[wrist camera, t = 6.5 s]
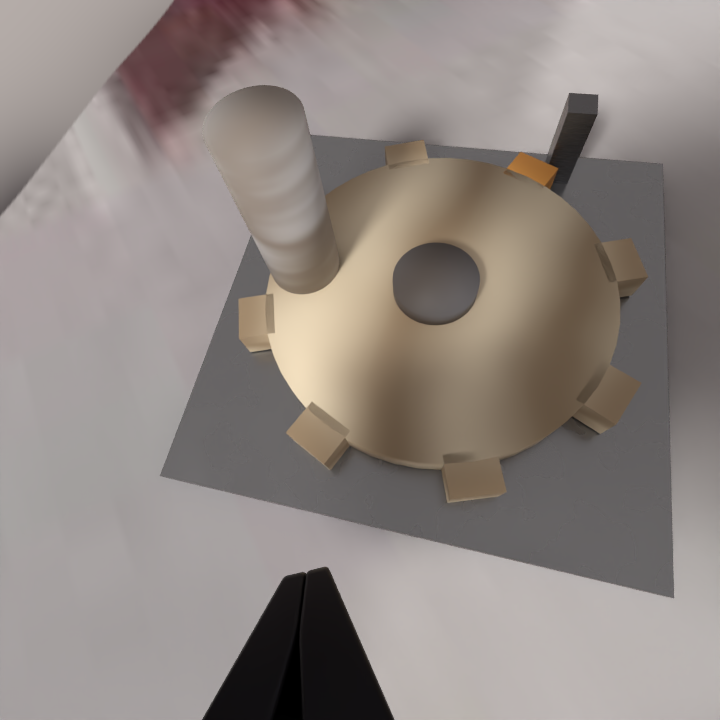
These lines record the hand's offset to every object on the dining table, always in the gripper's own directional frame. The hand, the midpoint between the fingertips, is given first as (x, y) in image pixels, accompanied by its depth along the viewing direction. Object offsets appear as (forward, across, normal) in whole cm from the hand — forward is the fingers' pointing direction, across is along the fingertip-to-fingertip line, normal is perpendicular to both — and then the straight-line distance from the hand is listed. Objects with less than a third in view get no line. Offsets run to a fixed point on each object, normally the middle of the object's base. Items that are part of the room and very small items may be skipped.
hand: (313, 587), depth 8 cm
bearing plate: (+14, -6, 0) cm, 15 cm away
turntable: (+14, -6, -1) cm, 15 cm away
